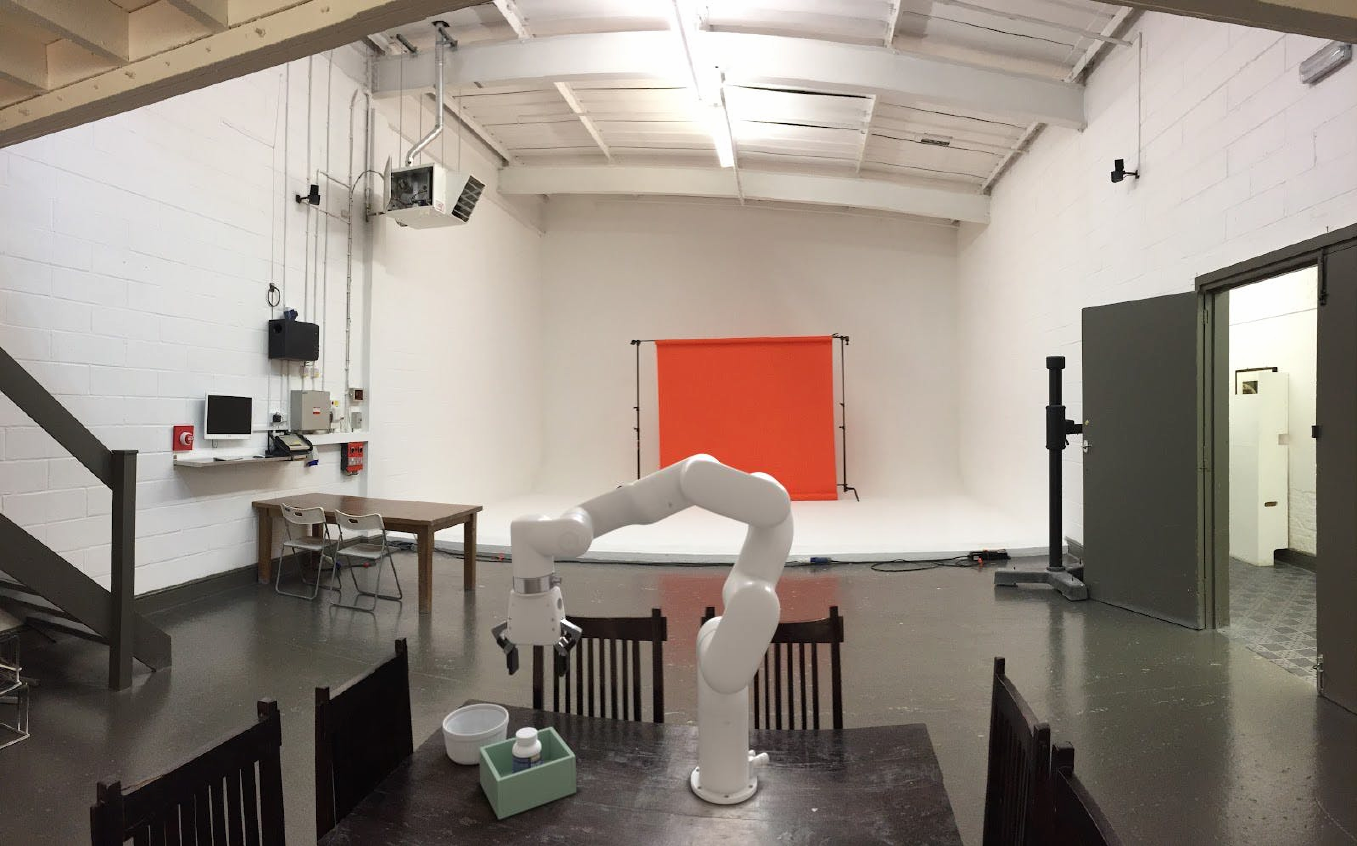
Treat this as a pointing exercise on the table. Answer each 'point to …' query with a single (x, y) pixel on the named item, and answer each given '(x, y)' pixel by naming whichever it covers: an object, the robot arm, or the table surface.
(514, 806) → the green open box
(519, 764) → the pill bottle
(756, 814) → the table surface
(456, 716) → the ramekin
